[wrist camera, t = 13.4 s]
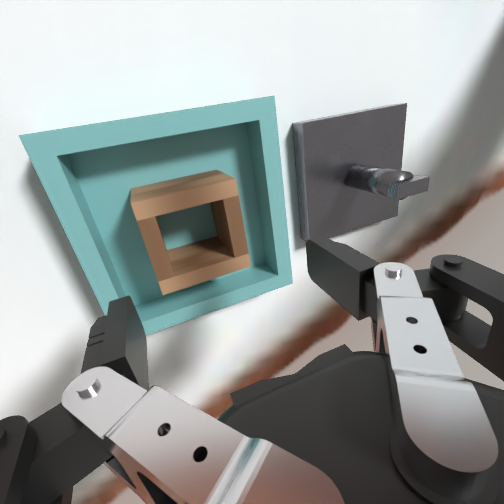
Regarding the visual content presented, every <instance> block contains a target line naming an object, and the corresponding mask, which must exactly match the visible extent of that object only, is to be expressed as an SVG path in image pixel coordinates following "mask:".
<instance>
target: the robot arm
mask: <svg viewBox="0 0 504 504" xmlns="http://www.w3.org/2000/svg"><path fill="white" fill-rule="evenodd" d="M306 253H307V267H308V273H309V276H310V278H311V279H312V280H313V282H315V283H316V284H317V285H318V286H319V287H320V288H321V289H323V290H324V291H325V292H326V293H327V294H328V295H330V296H331V297H332V298H333V299H334V300H335V301H336V302H338V303H339V304H340V305H341V306H342V307H343V308H344V309H346V310H347V311H348V312H349V313H350V314H351V315H353V316H354V317H355V318H356V319H357V320H358V321H359V320H362V319H364V318H366V317H368V316H370V317H371V328H372V338H373V349H374V352H371V351H358V352H352V351H351V350H350V349H349V348H348V347H347V346H346V345H345V344H344V345H342V346H340V347H337V348H335V349H332V350H330V351H328V352H326V353H323V354H321V355H319V356H318V357H316V358H315V359H314V360H312V361H311V362H310V363H308V364H307V365H306V366H305V367H303V368H302V369H301V370H300V371H298V372H297V373H295V374H292V375H288V376H282V377H277V378H272V379H266V380H261V381H259V382H256V383H254V384H252V385H249V386H247V387H245V388H243V389H240V390H238V391H236V392H233V393H231V394H230V395H231V398H232V402H233V405H232V406H231V407H229V408H228V409H227V410H226V411H225V412H224V413H223V414H222V415H221V416H220V417H219V418H218V419H215V418H213V417H212V416H210V415H208V414H206V413H204V412H203V411H201V410H199V409H197V408H196V407H194V406H192V405H190V404H189V403H187V402H185V401H183V400H182V399H180V398H178V397H176V396H175V395H173V394H171V393H169V392H167V391H166V390H164V389H162V388H160V387H158V386H155V385H154V386H152V387H151V388H150V389H149V383H148V363H147V343H146V335H145V331H144V328H143V325H142V322H141V320H140V318H139V315H138V313H137V310H136V308H135V306H134V303H133V301H132V299H131V297H130V296H129V295H128V296H125V297H122V298H119V299H116V300H112V301H110V302H109V306H108V312H107V315H106V316H103V317H100V318H98V319H97V320H96V322H95V323H94V324H93V326H92V327H91V329H90V334H89V339H88V343H87V348H86V352H85V356H84V361H83V365H82V370H81V374H80V375H79V376H77V377H76V378H75V379H74V380H72V381H71V382H70V384H69V385H68V386H67V387H66V389H65V390H64V392H63V394H62V398H61V403H60V404H58V405H57V406H55V407H54V408H52V409H51V410H49V411H47V412H46V413H44V414H43V415H41V416H39V417H38V418H36V419H34V420H33V421H31V422H28V421H27V420H26V419H25V418H24V417H22V416H11V417H7V418H4V419H2V420H0V504H71V501H72V492H73V486H74V485H75V484H76V483H78V482H79V481H80V480H82V479H83V478H84V477H86V476H87V475H88V474H89V473H91V472H92V471H93V470H95V469H96V468H97V467H99V466H100V465H101V464H105V465H106V466H107V467H108V468H109V469H110V470H111V471H112V472H113V473H114V474H115V475H116V476H118V477H119V478H120V479H121V480H122V481H123V482H124V483H125V484H126V485H127V486H128V487H129V488H130V489H132V490H133V491H134V492H135V493H136V494H137V495H138V496H139V497H140V498H141V499H142V500H143V501H144V502H145V503H146V504H504V390H501V389H498V388H495V387H491V386H488V385H485V384H482V383H479V382H475V381H472V380H469V379H466V378H464V376H463V374H462V372H461V369H460V367H459V364H458V362H457V359H456V357H455V355H454V352H453V350H452V347H451V345H450V342H452V343H453V344H454V345H456V346H457V347H458V348H460V349H461V350H462V351H464V352H465V353H467V354H468V355H469V356H470V357H472V358H473V359H474V360H476V361H477V362H478V363H480V364H481V365H483V366H484V367H485V368H487V369H488V370H489V371H491V372H492V373H493V374H495V375H496V376H497V377H499V378H500V379H502V380H503V381H504V274H502V273H499V272H497V271H495V270H492V269H490V268H488V267H485V266H483V265H481V264H479V263H476V262H474V261H472V260H469V259H467V258H465V257H461V256H457V255H439V256H436V257H434V258H432V260H431V265H430V269H424V270H416V271H413V269H412V268H410V267H409V266H407V265H405V264H401V263H396V262H386V263H381V264H380V263H378V262H376V261H374V260H373V259H371V258H369V257H367V256H366V255H364V254H362V253H361V254H360V252H358V251H357V250H354V249H353V248H351V247H349V246H348V245H346V244H342V243H338V242H334V241H332V240H330V239H328V238H327V237H325V236H319V237H315V238H312V239H309V240H307V242H306ZM468 298H469V299H471V300H472V301H474V302H476V303H478V304H480V305H481V306H483V307H485V308H486V309H487V310H488V311H489V312H490V313H491V315H492V317H493V323H492V326H490V325H488V324H487V323H485V322H484V321H482V320H480V319H479V318H477V317H475V316H474V315H472V314H470V313H468V312H467V311H465V310H466V306H467V301H468ZM449 341H450V342H449Z"/></svg>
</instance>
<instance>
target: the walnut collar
mask: <svg viewBox="0 0 504 504" xmlns="http://www.w3.org/2000/svg"><path fill="white" fill-rule="evenodd" d="M206 203H210V205H211V210H212V214H213V219H214V223H215V228H216V232H217V236H215V237H211V238H208V239H204V240H201V241H197V242H194V243H190V244H187V245H183V246H180V247H176V248H173V249H169V250H167V249H166V246H165V243H164V240H163V236H162V233H161V230H160V227H159V224H158V221H157V218H156V216H159V215H163V214H167V213H170V212H174V211H178V210H182V209H186V208H190V207H194V206H198V205H202V204H206ZM131 206H132V209H133V212H134V215H135V217H136V220H137V223H138V226H139V229H140V232H141V234H142V237H143V240H144V243H145V246H146V249H147V251H148V254H149V257H150V260H151V263H152V266H153V268H154V271H155V274H156V277H157V280H158V282H159V285H160V288H161V291H162V294H163V295H165V294H168V293H171V292H174V291H177V290H180V289H183V288H186V287H190V286H193V285H196V284H199V283H202V282H205V281H208V280H211V279H214V278H217V277H220V276H223V275H226V274H229V273H232V272H235V271H239V270H242V269H245V268H248V267H251V263H250V257H249V251H248V246H247V240H246V234H245V229H244V223H243V217H242V211H241V206H240V200H239V194H238V188H237V183H236V179H235V178H233V177H231V176H229V175H227V174H225V173H223V172H221V171H219V170H217V169H216V170H211V171H207V172H202V173H198V174H193V175H189V176H184V177H180V178H175V179H171V180H166V181H162V182H157V183H153V184H148V185H144V186H139V187H135V188H131Z"/></svg>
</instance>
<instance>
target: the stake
mask: <svg viewBox="0 0 504 504" xmlns="http://www.w3.org/2000/svg"><path fill="white" fill-rule="evenodd" d="M406 109H407V103H404V104H393V105H388V106H382V107H377V108H372V109H366V110H361V111H356V112H350V113H345V114H340V115H334V116H329V117H324V118H318V119H313V120H308V121H302V122H297V123H293V137H294V150H295V163H296V176H297V189H298V203H299V216H300V229H301V238H302V239H303V240H305V241H306V242H307V240H309V239H312V238H315V237H319V236H325V237H327V238H329V237H333V236H336V235H339V234H342V233H345V232H348V231H351V230H354V229H358V228H361V227H364V226H367V225H370V224H373V223H376V222H380V221H383V220H386V219H389V218H392V217H395V216H397V213H398V202H399V200H403V199H405V198H406V197H408V196H411V195H415V194H418V193H421V192H425V191H427V190H428V183H429V176H423V175H418V176H413V174H412V173H410V172H406V171H401V167H402V156H403V144H404V132H405V121H406Z"/></svg>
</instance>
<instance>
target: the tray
mask: <svg viewBox="0 0 504 504" xmlns="http://www.w3.org/2000/svg"><path fill="white" fill-rule="evenodd" d="M19 137H20V139H21V141H22V143H23V145H24V148H25V150H26V152H27V154H28V156H29V158H30V160H31V162H32V164H33V166H34V168H35V171H36V173H37V175H38V177H39V179H40V181H41V183H42V185H43V187H44V189H45V191H46V194H47V196H48V198H49V200H50V202H51V204H52V206H53V208H54V210H55V212H56V214H57V217H58V219H59V221H60V223H61V225H62V227H63V229H64V231H65V233H66V235H67V237H68V240H69V242H70V244H71V246H72V248H73V250H74V252H75V254H76V256H77V258H78V260H79V263H80V265H81V267H82V269H83V271H84V273H85V275H86V277H87V279H88V281H89V283H90V285H91V288H92V290H93V292H94V294H95V296H96V298H97V300H98V302H99V304H100V306H101V308H102V311H103V313H104V315H105V316H106V315H107V312H108V306H109V302H110V301H112V300H116V299H119V298H122V297H125V296H128V295H129V296H130V297H131V299H132V301H133V303H134V306H135V308H136V310H137V313H138V315H139V318H140V320H141V322H142V325H143V328H144V331H145V335H149V334H151V333H154V332H157V331H160V330H163V329H165V328H168V327H171V326H174V325H177V324H180V323H182V322H185V321H188V320H191V319H194V318H196V317H199V316H202V315H205V314H208V313H210V312H213V311H216V310H219V309H222V308H225V307H227V306H230V305H233V304H236V303H239V302H241V301H244V300H247V299H250V298H253V297H256V296H258V295H261V294H264V293H267V292H270V291H272V290H275V289H278V288H281V287H284V286H286V285H289V284H292V283H293V281H292V270H291V260H290V250H289V240H288V230H287V219H286V209H285V199H284V189H283V179H282V168H281V158H280V148H279V138H278V128H277V117H276V107H275V97H274V96H269V97H263V98H256V99H250V100H243V101H237V102H231V103H224V104H218V105H211V106H205V107H198V108H192V109H186V110H179V111H173V112H166V113H160V114H153V115H147V116H141V117H134V118H128V119H121V120H115V121H108V122H102V123H96V124H89V125H83V126H76V127H70V128H63V129H57V130H51V131H44V132H38V133H31V134H25V135H19ZM216 169H217V170H219V171H221V172H223V173H225V174H227V175H229V176H231V177H233V178H235V179H236V183H237V188H238V194H239V200H240V206H241V211H242V217H243V223H244V229H245V234H246V240H247V246H248V251H249V257H250V263H251V267H248V268H245V269H242V270H239V271H235V272H232V273H229V274H226V275H223V276H220V277H217V278H214V279H211V280H208V281H205V282H202V283H199V284H196V285H193V286H190V287H186V288H183V289H180V290H177V291H174V292H171V293H168V294H165V295H163V294H162V291H161V288H160V285H159V282H158V280H157V277H156V274H155V271H154V268H153V266H152V263H151V260H150V257H149V254H148V251H147V249H146V246H145V243H144V240H143V237H142V234H141V232H140V229H139V226H138V223H137V220H136V217H135V215H134V212H133V209H132V206H131V188H135V187H139V186H144V185H148V184H153V183H157V182H162V181H166V180H171V179H175V178H180V177H184V176H189V175H193V174H198V173H202V172H207V171H211V170H216ZM156 218H157V221H158V224H159V227H160V230H161V233H162V236H163V240H164V243H165V246H166V249H167V250H169V249H173V248H176V247H180V246H183V245H187V244H190V243H194V242H197V241H201V240H204V239H208V238H211V237H215V236H217V232H216V228H215V223H214V219H213V214H212V210H211V205H210V203H206V204H202V205H198V206H194V207H190V208H186V209H182V210H178V211H174V212H170V213H167V214H163V215H159V216H156Z"/></svg>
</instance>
